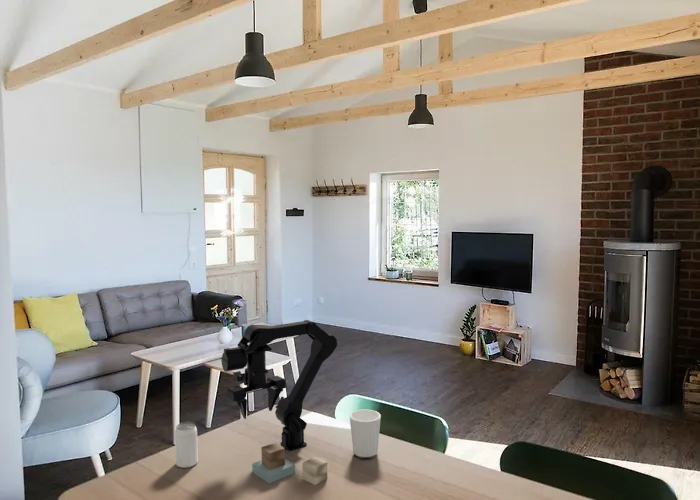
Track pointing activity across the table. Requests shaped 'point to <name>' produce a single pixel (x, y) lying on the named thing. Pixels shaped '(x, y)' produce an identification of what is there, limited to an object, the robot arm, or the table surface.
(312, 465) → the beech cube
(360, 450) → the cup
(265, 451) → the walnut cube
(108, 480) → the table surface
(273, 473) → the base block
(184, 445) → the can
